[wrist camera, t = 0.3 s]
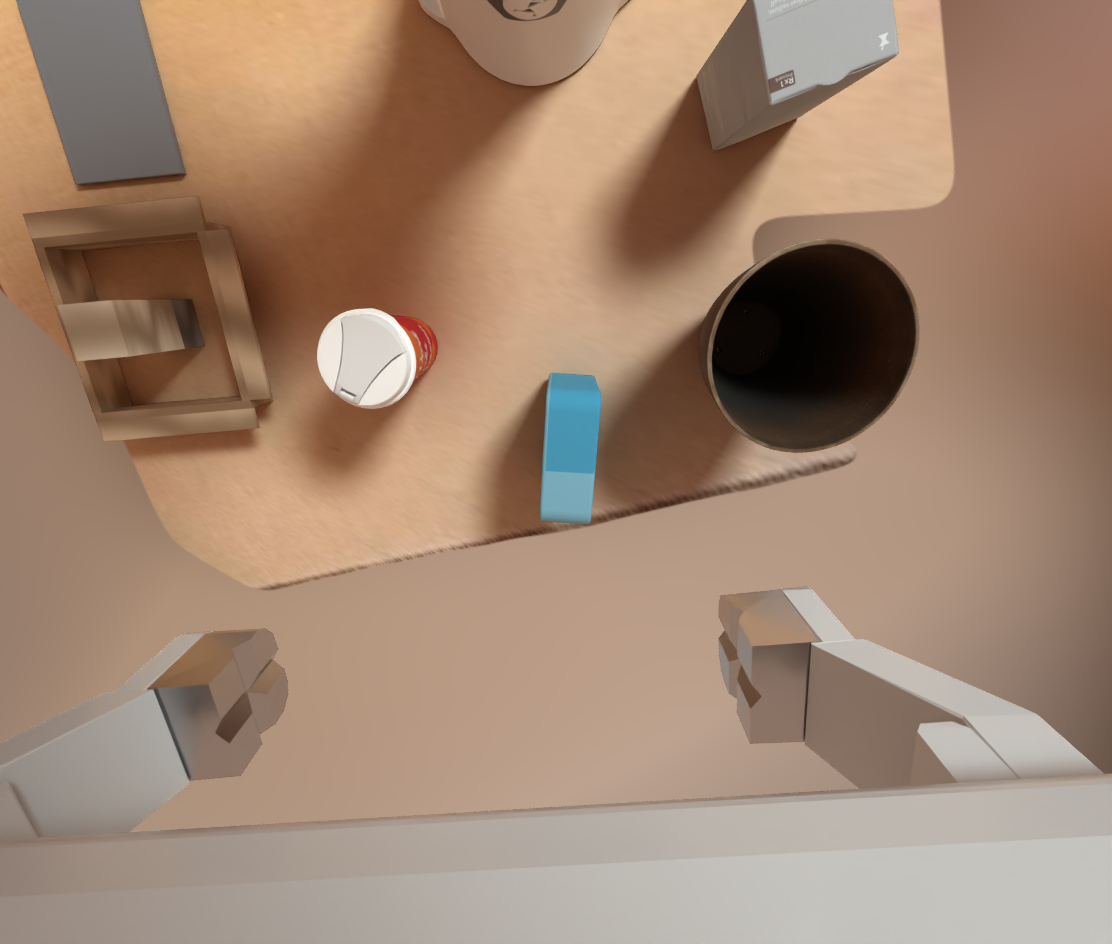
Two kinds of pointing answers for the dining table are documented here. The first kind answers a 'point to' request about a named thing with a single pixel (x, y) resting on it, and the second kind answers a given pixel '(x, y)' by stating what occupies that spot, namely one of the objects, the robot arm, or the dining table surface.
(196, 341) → the box
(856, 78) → the skincare box
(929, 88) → the dining table surface
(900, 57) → the dining table surface
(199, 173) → the dining table surface
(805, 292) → the plant pot
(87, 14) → the rubber mat
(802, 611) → the robot arm
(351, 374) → the paper cup
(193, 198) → the wooden frame
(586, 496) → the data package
